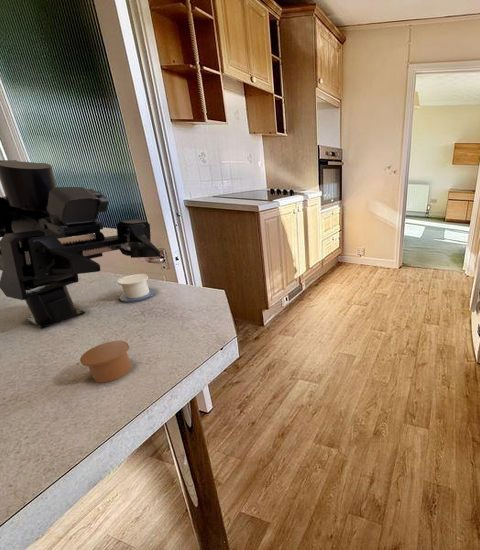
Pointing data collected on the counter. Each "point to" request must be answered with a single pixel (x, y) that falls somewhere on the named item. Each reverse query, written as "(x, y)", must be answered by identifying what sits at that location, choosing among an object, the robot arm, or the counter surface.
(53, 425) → the counter surface
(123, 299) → the saucer
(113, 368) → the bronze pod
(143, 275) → the cream pod
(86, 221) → the robot arm
